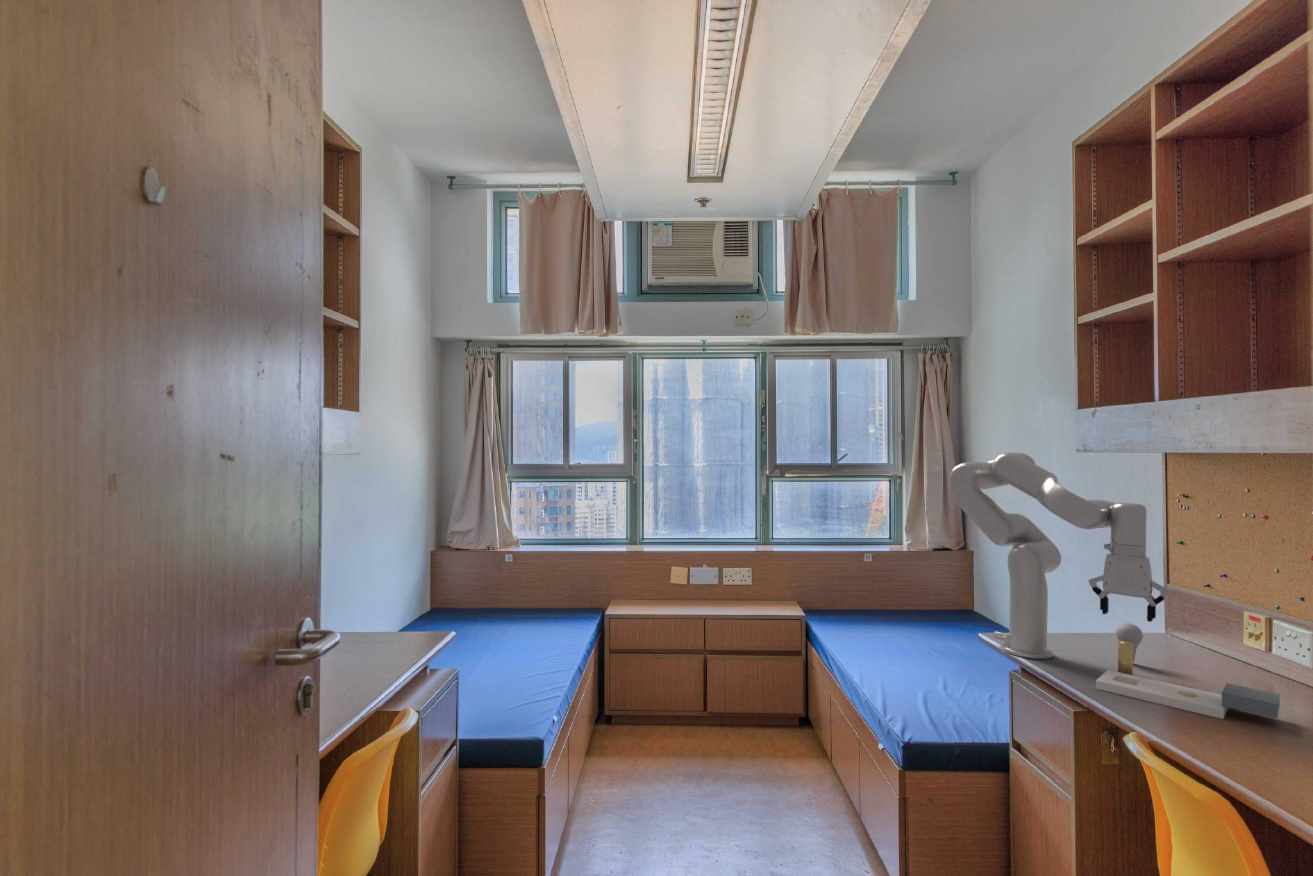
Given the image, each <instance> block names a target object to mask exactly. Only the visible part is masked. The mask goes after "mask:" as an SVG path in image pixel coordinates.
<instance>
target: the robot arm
mask: <svg viewBox="0 0 1313 876" xmlns="http://www.w3.org/2000/svg"><path fill="white" fill-rule="evenodd" d="M1007 485H1010V486H1012V487H1014V488H1015V489H1018V490H1019V491H1021V492H1023V493H1024V494H1026V495H1028V496H1029V497H1031V498H1033V499H1035V500H1036V501H1037V502H1039V504H1041V505H1042V506H1043V507H1044V508H1046V509H1047V510H1048V511H1049V512H1050V513H1052V514H1053V515H1055V516H1057V517H1058V518H1060V519H1062V520H1064V521H1065V522H1067V523H1069V524H1071V525H1072V526H1074V527H1076V528H1080V529H1083V530H1094V529H1103V528H1105V529H1106V528H1110V542H1109V543H1104V545H1103V549H1104V550H1107V551H1109V553H1107V554H1106V556H1105V560H1104V567H1103V574H1102V575H1099V576H1096V577H1093V578H1090V579H1088V584H1089V585H1090V587H1091V589H1092V591H1093V592H1094V593H1095V594H1096V595H1097V596H1098V598H1099V610H1100V611H1102V612H1101V613H1102V615H1106V614H1108V613H1109V599H1110V598H1108V595H1109V594H1112V595H1120V596H1125V597H1126V596H1127V597H1133V598H1142V599H1143V598H1144V599H1145V601H1146V602H1147V603H1148V605H1146V606H1147V607H1146V610H1147V611H1146V621H1147V622H1150V623H1151V622H1152V621H1153V620H1154V619H1156V614H1157V612H1156V611H1157V610H1156V608H1157V605H1158V604H1161V602H1163V601H1165V599H1166V597H1168V595H1169V593H1170V589H1168V588H1166V587H1165V586H1163V585H1161V584H1160V583H1157V582H1156V581H1154V580H1153V577H1152V576H1153V575H1152V567H1151V566H1152V565H1151V562H1150V558H1149V557H1147V508H1146V507H1145V506H1144V505H1143V504H1140V503H1134V502H1132V503H1131V502H1113V501H1110V500H1109V501H1108V500H1102V499H1091V500H1089V499H1088V500H1087V499H1085V498H1082V497H1081V496H1079V495H1077V494H1075V493H1073V492H1072V491H1070V490H1068V489H1067V488H1065V487H1064V486H1062V485H1061V484H1060V483H1059V480H1058V477H1057V475H1056V474H1054V473H1052V472H1051V471H1049V470H1046V469H1045V468H1043V467H1041V466H1040V465H1037V464H1036V462H1035V460H1034V458H1033V457H1031V456H1030V455H1028V454H1026V453H1022V452H1004V453H1001V454H999V455H997V456H996V457H995V458H994V459H993V460H989V461H968V462H967V461H965V462H962V463H959V464H958V465H957V464H956V466H955V467H953V468H952V470H951V471H950V474H949V476H948V490H949V494H950V495H951V498H952V500H953V501H954V502H955V504H956V505H957V506H958V507H959V508H960V509H961V510H962V511H963V513H965V514H966V516H968V518H970V520H971V521H972V522H973V523H974V524H975V525H976V526H977V528H979V529H980V530H981V532H982V533H983V535H985V536H986V537H987V538H988V539H989V541H990V542H992V543H993V544H995V545H996V546H1000V547H1010V546H1011V547H1012V548H1011V549H1010V551H1009V553H1008V556H1007V567H1008V568H1007V569H1008V576H1009V631H1008V632H1006V633H1004V632H1000V631H994V634H993V637H994V639H995V640H997V641H1003V642H1004V643H1003V644H1002V650H1004V651H1005V652H1007V653H1008V654H1011V655H1014V656H1017V657H1021V658H1027V659H1037V660H1038V659H1039V660H1044V659H1045V660H1047V659H1048V660H1049V659H1050V658H1053V655H1054V652H1053V651H1052V650H1051V649H1050V648H1048V609H1049V608H1048V607H1049V606H1048V601H1049V600H1048V597H1049V595H1048V594H1049V593H1048V592H1049V591H1048V584H1047V579H1046V574H1049V573H1051V572H1054V571H1056V570H1057V569H1058V568H1059V567H1060V566H1061V562H1062V555H1061V552H1060V550H1059V548H1058V546H1056V544H1055V543H1054V542H1053V541H1052V539H1050V538H1049V537H1048V536H1047V535H1046V534H1045V533H1044V532H1043V531H1042V530H1041V529H1040V528H1038V526H1037V525H1036V524H1035V523H1034V522H1033V521H1032V520H1031V519H1030V518H1028V517H1026V516H1025V515H1023V514H1019V513H1012V512H1011V513H1008V512H1006V511H1004V509H1002V508H1001V507H1000V506H999V505H998V504H997V503H996V502H995V501H994V500H993V499H992V498H991V497H989V496H988V495H987V494H985V493H984V492H983V491H982V490H988V489H993V488H998V487H1002V486H1007ZM1100 582H1102V589H1103V590H1102V589H1101V588H1100V587H1099V586H1098V584H1097V583H1100ZM1153 589H1155V590H1157V591H1159V592H1160V593H1159V596H1157V597H1156V598H1155V597H1154V596H1153V595H1152V594H1153Z"/></svg>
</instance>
